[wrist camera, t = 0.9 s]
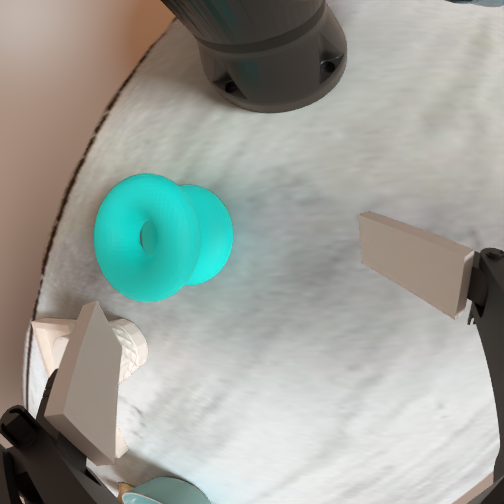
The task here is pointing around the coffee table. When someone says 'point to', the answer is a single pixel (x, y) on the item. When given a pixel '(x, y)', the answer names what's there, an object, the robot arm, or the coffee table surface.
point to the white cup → (129, 340)
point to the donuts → (160, 237)
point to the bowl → (165, 493)
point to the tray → (45, 337)
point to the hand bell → (123, 490)
